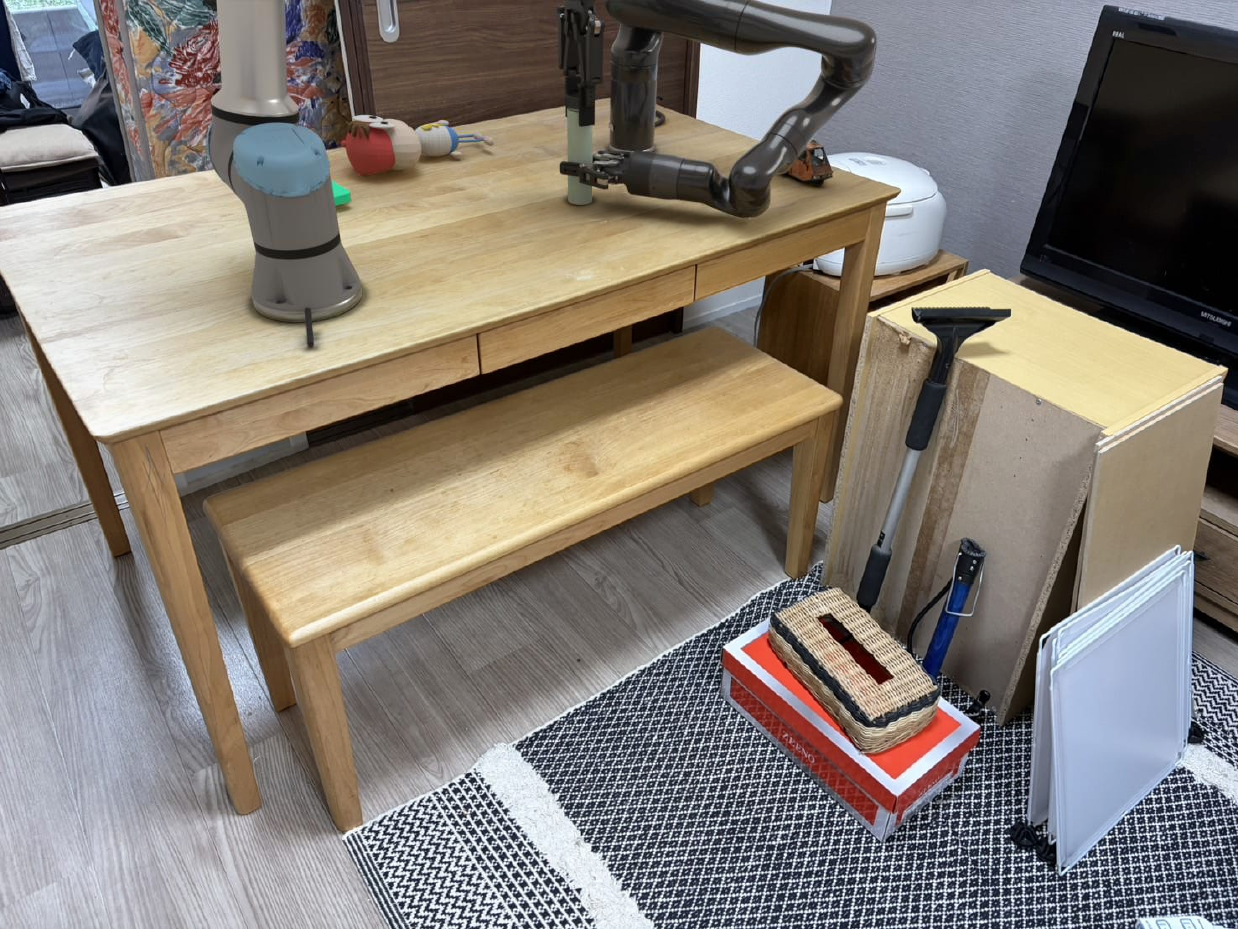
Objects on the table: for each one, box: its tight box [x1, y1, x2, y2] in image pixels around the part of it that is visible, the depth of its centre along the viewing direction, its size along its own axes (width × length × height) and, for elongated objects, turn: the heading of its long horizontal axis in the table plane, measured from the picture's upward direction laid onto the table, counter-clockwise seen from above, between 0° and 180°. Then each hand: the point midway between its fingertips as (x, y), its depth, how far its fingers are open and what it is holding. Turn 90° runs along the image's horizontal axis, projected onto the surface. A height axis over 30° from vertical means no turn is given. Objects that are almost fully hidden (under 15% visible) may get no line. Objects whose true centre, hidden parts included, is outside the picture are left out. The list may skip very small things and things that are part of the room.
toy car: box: [782, 138, 834, 187], centre depth 178 cm, size 6×12×7 cm, turn 39°
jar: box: [566, 107, 594, 206], centre depth 163 cm, size 4×4×18 cm
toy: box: [340, 114, 495, 176], centre depth 180 cm, size 18×10×30 cm
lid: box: [566, 90, 579, 109], centre depth 158 cm, size 5×5×2 cm
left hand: (580, 120), depth 160 cm, fingers closed on lid, 5 cm apart
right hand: (566, 162), depth 165 cm, fingers closed on jar, 4 cm apart
